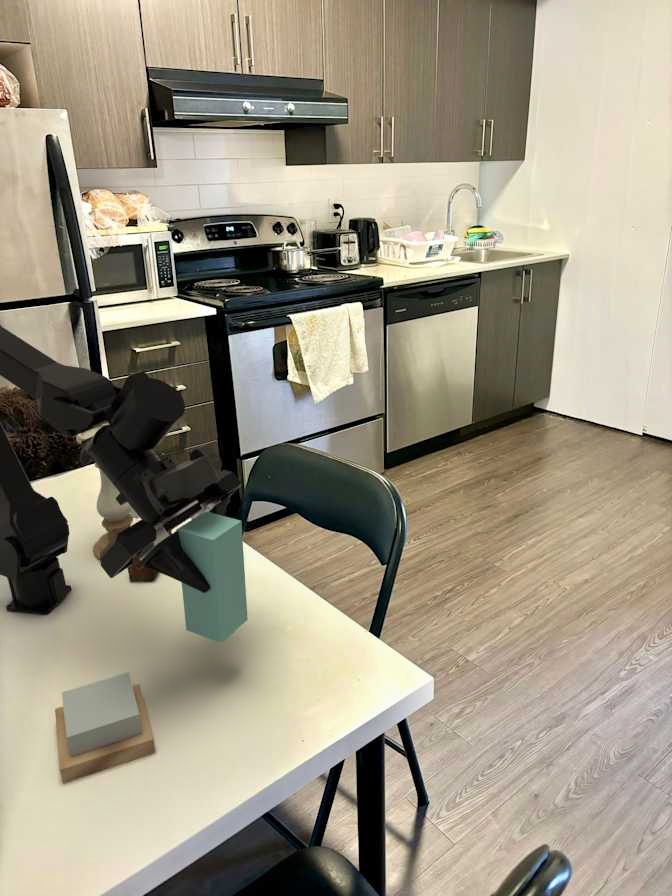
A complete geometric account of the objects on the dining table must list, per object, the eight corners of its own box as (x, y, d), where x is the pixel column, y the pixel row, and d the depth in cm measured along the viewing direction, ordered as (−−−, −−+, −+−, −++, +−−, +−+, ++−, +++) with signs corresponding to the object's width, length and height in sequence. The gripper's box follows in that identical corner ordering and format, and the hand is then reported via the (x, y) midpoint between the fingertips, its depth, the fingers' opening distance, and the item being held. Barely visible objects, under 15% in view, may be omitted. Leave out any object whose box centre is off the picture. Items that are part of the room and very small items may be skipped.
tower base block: (64, 788, 67) (59, 770, 66) (59, 726, 74) (54, 708, 73) (156, 757, 70) (153, 739, 69) (142, 700, 78) (139, 683, 77)
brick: (155, 583, 99) (151, 555, 98) (129, 583, 100) (124, 555, 98) (174, 547, 109) (171, 521, 108) (150, 547, 110) (146, 521, 108)
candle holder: (102, 536, 113) (82, 422, 105) (155, 534, 113) (139, 420, 105) (86, 564, 105) (63, 442, 97) (142, 562, 105) (124, 440, 97)
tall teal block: (186, 630, 78) (176, 529, 73) (213, 608, 82) (205, 511, 77) (221, 643, 75) (212, 540, 71) (247, 619, 79) (241, 520, 75)
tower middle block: (71, 756, 67) (66, 737, 66) (65, 710, 73) (61, 692, 72) (142, 733, 70) (139, 714, 69) (131, 690, 76) (128, 672, 75)
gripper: (102, 462, 64) (206, 590, 63) (222, 405, 79) (307, 508, 78) (59, 519, 70) (152, 636, 70) (177, 456, 86) (255, 552, 85)
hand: (223, 578), depth 75 cm, fingers closed on tall teal block, 5 cm apart
